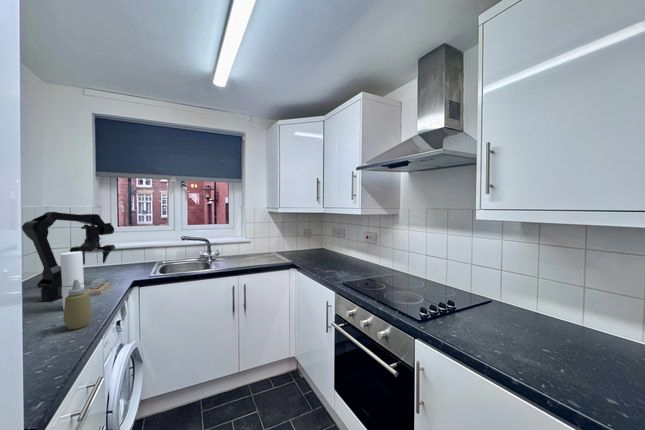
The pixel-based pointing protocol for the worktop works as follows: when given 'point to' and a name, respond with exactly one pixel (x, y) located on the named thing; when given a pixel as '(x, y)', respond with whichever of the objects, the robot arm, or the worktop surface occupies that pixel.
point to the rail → (100, 290)
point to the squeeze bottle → (77, 307)
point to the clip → (97, 283)
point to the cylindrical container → (71, 271)
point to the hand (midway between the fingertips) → (93, 263)
